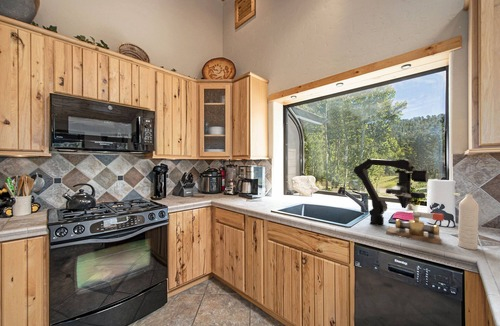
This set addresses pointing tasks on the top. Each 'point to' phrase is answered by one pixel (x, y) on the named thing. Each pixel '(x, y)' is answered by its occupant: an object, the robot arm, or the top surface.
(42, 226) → the top surface
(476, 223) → the water bottle
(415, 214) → the valve lever
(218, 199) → the top surface
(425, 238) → the valve board
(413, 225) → the valve body
